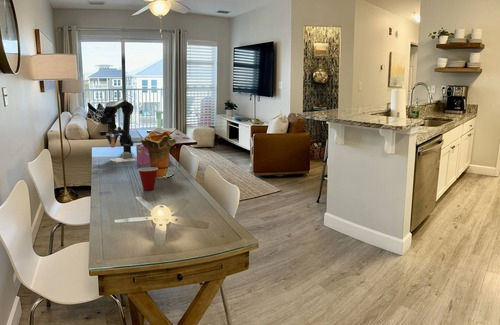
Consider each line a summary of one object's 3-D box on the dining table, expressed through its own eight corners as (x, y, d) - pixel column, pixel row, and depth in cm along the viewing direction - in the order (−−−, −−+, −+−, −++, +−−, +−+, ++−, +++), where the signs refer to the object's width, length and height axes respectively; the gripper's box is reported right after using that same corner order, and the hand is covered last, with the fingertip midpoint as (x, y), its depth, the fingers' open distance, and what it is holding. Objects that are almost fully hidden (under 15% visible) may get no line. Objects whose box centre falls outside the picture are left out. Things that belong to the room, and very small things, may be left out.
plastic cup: (156, 185, 225) (156, 165, 223) (160, 190, 216) (159, 169, 213) (137, 187, 221) (136, 166, 219) (140, 192, 211) (139, 171, 209)
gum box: (165, 159, 298) (165, 141, 295) (171, 160, 292) (171, 142, 289) (136, 163, 281) (135, 144, 279) (142, 165, 276) (141, 146, 273)
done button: (123, 156, 297) (123, 152, 297) (128, 155, 300) (128, 151, 299) (125, 156, 295) (125, 153, 294) (130, 156, 297) (129, 152, 296)
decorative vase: (142, 180, 234) (141, 133, 230) (142, 173, 256) (140, 130, 252) (178, 179, 240) (177, 132, 235) (175, 172, 262) (174, 129, 257)
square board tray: (108, 160, 292) (107, 155, 291) (129, 157, 302) (129, 152, 301) (115, 163, 280) (115, 158, 279) (137, 161, 290) (137, 156, 289)
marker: (109, 147, 295) (109, 136, 293) (114, 146, 297) (113, 136, 295) (111, 147, 292) (110, 137, 291) (116, 147, 294) (115, 136, 293)
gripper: (102, 125, 279) (103, 146, 282) (128, 123, 291) (129, 144, 294) (97, 123, 288) (98, 144, 291) (122, 122, 299) (123, 142, 302)
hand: (112, 144), depth 294 cm, fingers closed on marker, 3 cm apart
